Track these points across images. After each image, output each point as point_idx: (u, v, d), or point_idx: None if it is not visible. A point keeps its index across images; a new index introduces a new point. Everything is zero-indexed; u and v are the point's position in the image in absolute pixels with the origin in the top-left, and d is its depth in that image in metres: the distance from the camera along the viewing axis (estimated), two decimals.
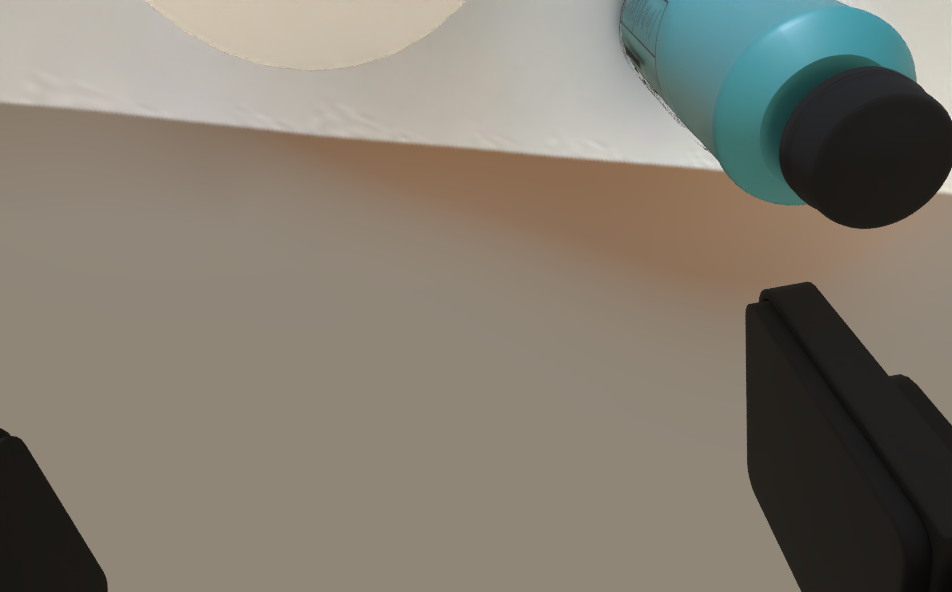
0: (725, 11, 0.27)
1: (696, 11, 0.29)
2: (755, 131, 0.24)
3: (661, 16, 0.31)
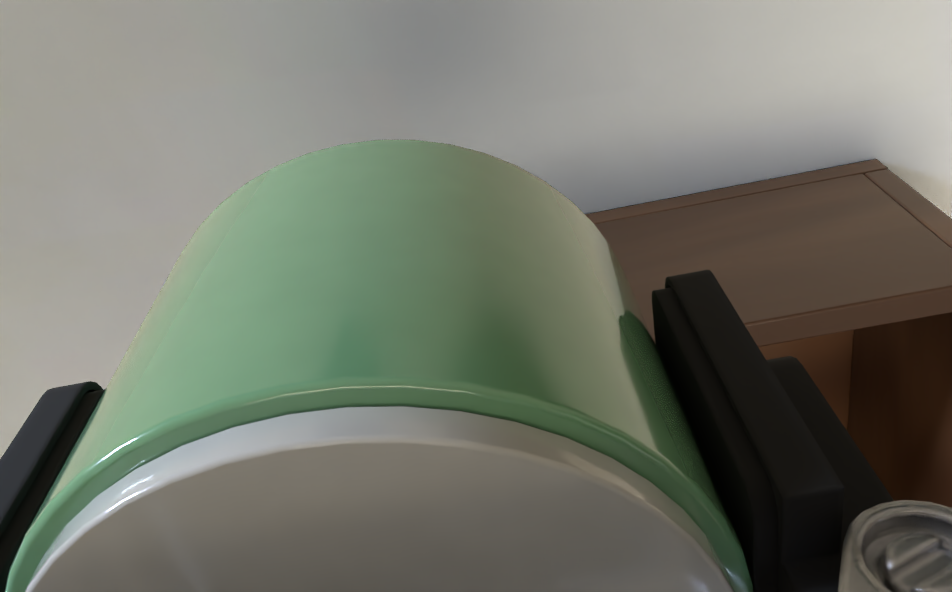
0: None
1: None
2: None
3: None
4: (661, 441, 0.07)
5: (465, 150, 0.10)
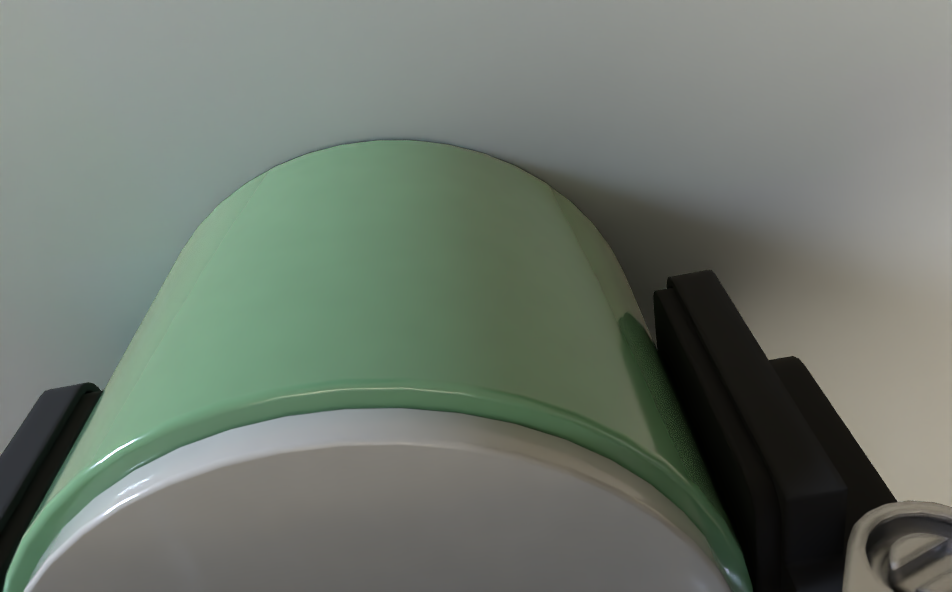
0: None
1: None
2: None
3: None
4: (662, 444, 0.07)
5: (464, 150, 0.10)
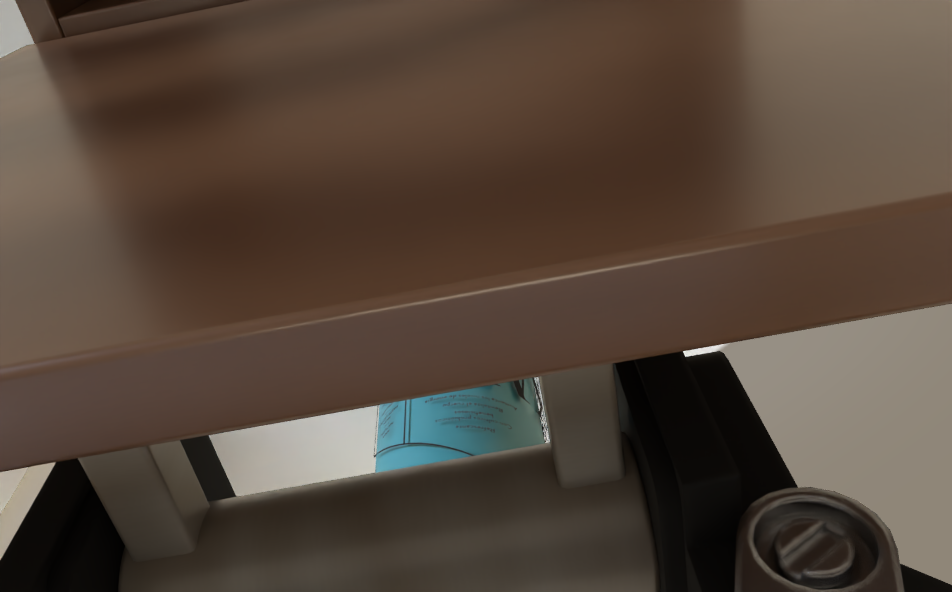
0: None
1: None
2: None
3: None
4: None
5: None
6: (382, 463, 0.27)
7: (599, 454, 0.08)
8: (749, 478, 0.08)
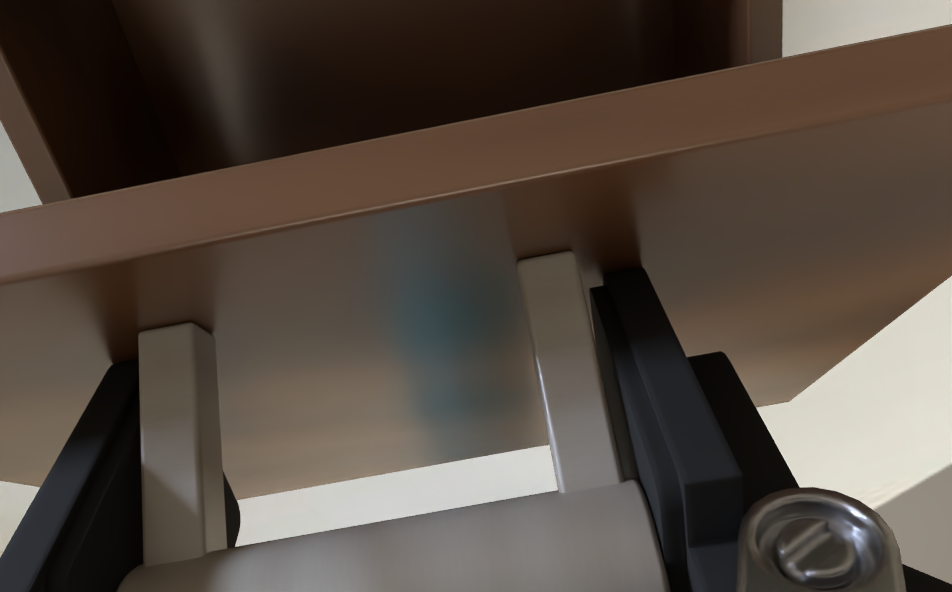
0: None
1: None
2: None
3: None
4: None
5: None
6: None
7: (595, 451, 0.09)
8: (750, 478, 0.08)
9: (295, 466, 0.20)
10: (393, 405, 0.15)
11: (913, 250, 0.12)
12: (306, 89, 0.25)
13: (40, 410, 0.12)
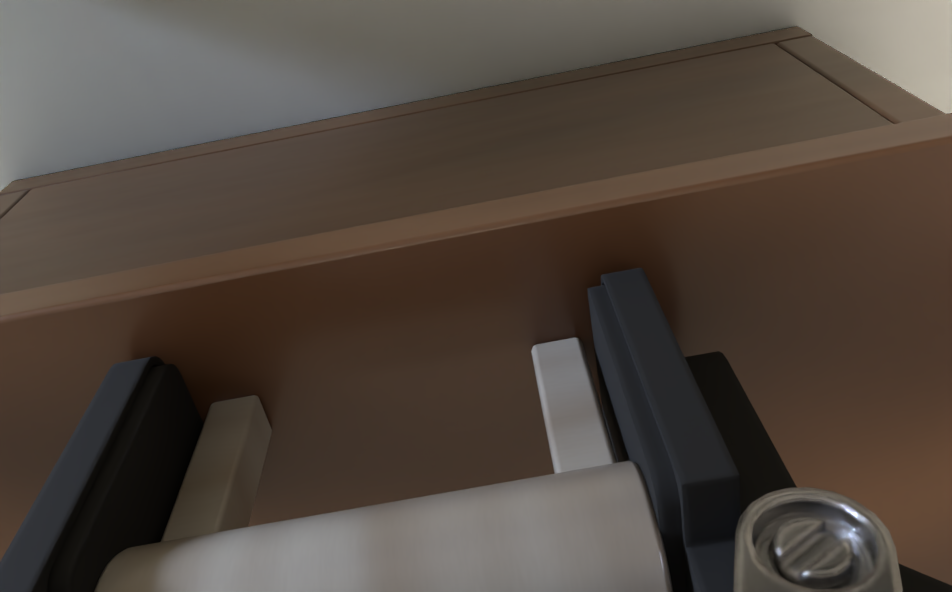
0: None
1: None
2: None
3: None
4: None
5: None
6: None
7: (591, 450, 0.09)
8: (748, 478, 0.08)
9: None
10: None
11: (923, 417, 0.12)
12: None
13: None
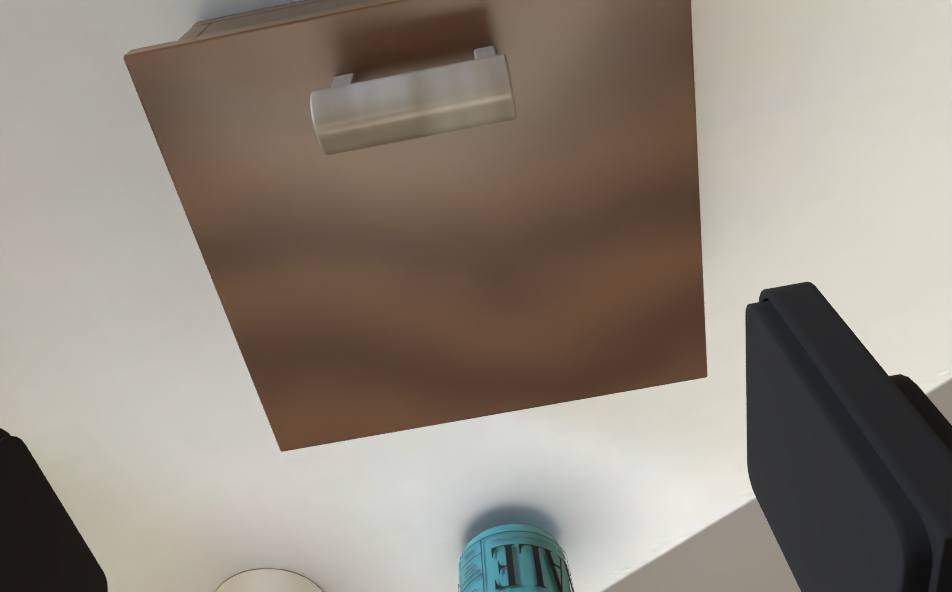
0: None
1: None
2: None
3: None
4: None
5: None
6: None
7: None
8: None
9: (368, 359, 0.31)
10: (429, 239, 0.29)
11: (654, 94, 0.27)
12: None
13: (273, 163, 0.27)
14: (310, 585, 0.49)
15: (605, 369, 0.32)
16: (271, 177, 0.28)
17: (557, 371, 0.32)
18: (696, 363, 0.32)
